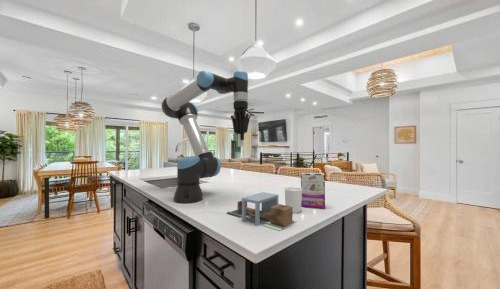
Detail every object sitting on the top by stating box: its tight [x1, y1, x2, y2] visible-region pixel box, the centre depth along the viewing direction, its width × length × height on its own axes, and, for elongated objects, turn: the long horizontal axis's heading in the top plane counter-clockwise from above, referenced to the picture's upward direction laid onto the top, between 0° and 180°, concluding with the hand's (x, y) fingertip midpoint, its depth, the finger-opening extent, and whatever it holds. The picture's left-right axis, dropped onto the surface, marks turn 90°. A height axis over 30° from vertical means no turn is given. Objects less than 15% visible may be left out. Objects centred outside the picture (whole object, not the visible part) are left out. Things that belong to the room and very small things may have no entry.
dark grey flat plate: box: [226, 209, 249, 219], centre depth 95 cm, size 8×10×1 cm
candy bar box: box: [300, 172, 326, 210], centre depth 105 cm, size 11×5×16 cm, turn 73°
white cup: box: [284, 186, 302, 214], centre depth 99 cm, size 8×8×10 cm
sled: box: [237, 200, 294, 227], centre depth 88 cm, size 24×6×6 cm, turn 50°
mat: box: [262, 219, 297, 232], centre depth 82 cm, size 8×12×1 cm, turn 140°
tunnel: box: [226, 191, 295, 231], centre depth 89 cm, size 28×14×9 cm, turn 50°
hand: (240, 146), depth 113 cm, fingers closed
